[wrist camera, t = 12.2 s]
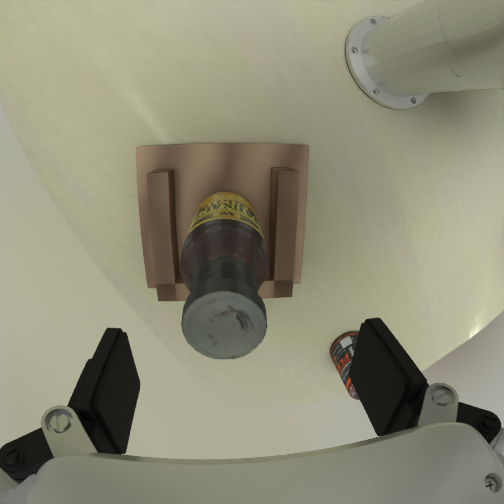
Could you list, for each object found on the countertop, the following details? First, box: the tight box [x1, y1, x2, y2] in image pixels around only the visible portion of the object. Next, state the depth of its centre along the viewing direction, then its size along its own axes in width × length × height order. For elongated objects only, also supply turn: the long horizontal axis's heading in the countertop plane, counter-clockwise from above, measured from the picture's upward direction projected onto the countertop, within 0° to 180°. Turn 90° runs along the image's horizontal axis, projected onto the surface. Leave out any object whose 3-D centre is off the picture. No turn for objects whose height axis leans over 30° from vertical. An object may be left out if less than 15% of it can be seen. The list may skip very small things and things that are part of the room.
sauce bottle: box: [179, 191, 269, 359], centre depth 23 cm, size 6×6×20 cm
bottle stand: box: [136, 143, 309, 301], centre depth 31 cm, size 18×16×6 cm
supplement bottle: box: [331, 332, 362, 403], centre depth 37 cm, size 6×6×11 cm
